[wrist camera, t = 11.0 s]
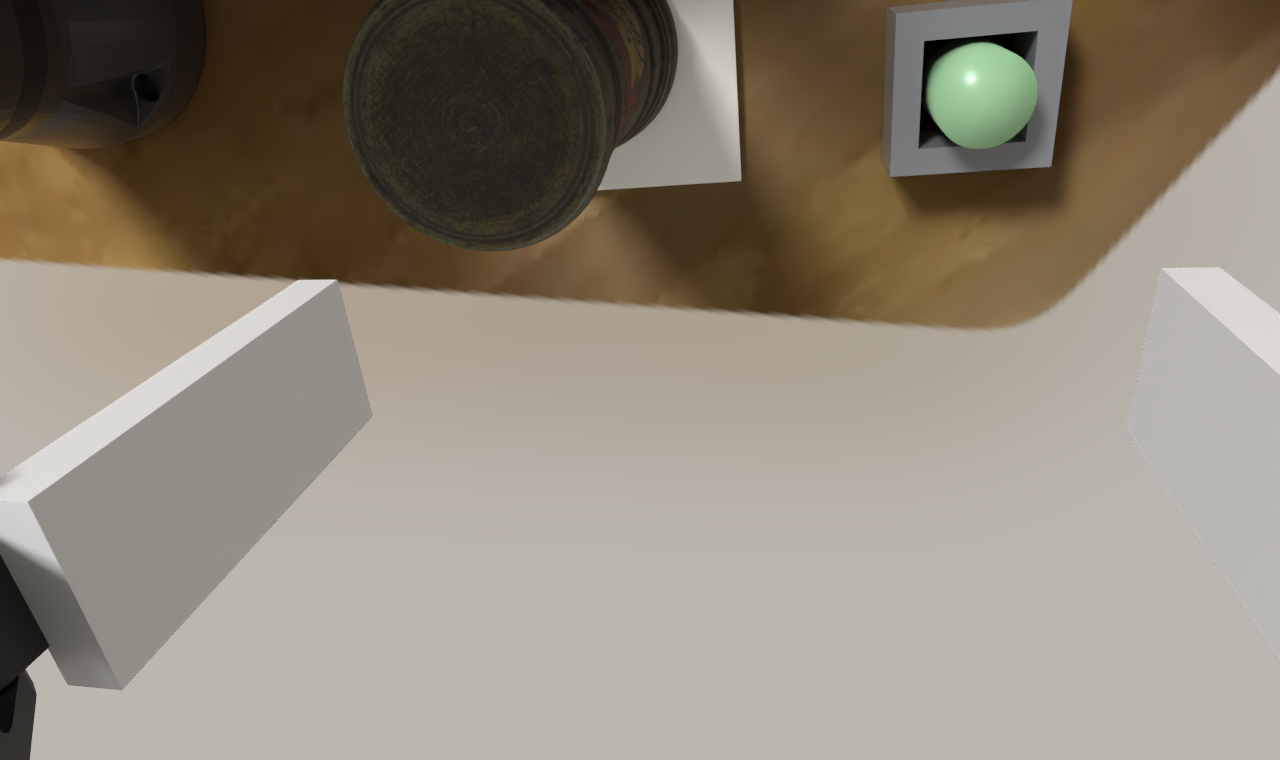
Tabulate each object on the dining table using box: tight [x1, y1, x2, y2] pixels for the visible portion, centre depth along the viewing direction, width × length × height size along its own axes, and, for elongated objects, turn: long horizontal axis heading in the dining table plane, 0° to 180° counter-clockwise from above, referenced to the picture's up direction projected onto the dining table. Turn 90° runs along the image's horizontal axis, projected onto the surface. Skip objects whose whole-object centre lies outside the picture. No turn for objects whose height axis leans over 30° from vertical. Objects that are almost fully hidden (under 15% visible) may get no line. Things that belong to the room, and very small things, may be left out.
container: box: [342, 0, 678, 251], centre depth 33 cm, size 9×9×18 cm
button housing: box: [882, 0, 1073, 177], centre depth 38 cm, size 7×7×4 cm
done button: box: [921, 37, 1038, 149], centre depth 36 cm, size 4×4×4 cm
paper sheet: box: [598, 0, 742, 190], centre depth 41 cm, size 14×14×1 cm
